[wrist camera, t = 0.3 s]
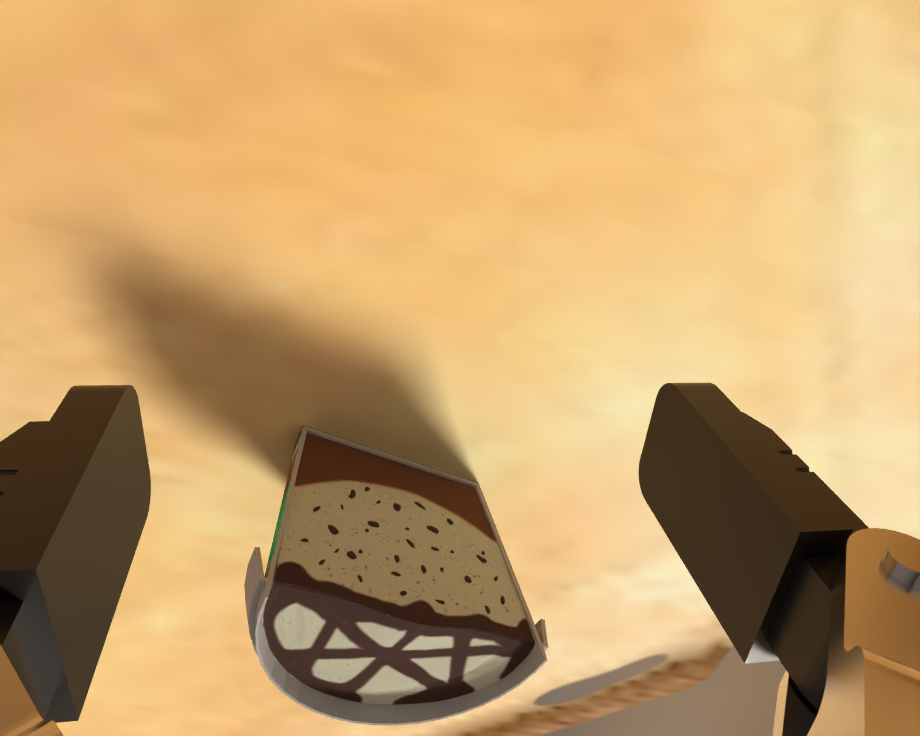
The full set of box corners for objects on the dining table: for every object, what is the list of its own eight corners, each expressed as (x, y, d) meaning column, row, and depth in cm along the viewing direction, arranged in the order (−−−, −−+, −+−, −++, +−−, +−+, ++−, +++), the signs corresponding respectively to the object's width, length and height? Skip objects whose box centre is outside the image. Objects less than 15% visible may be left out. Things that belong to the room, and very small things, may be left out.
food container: (222, 512, 33) (186, 706, 25) (271, 414, 31) (249, 593, 22) (446, 571, 38) (480, 752, 29) (503, 491, 35) (558, 663, 27)
